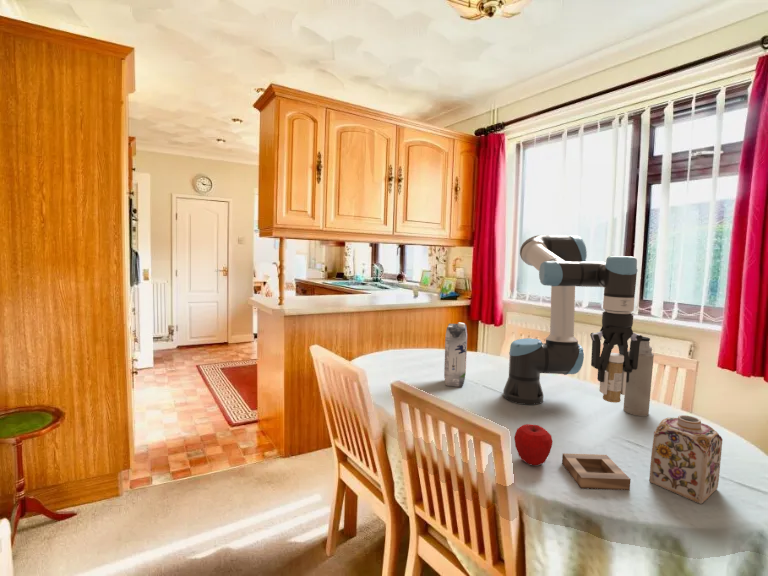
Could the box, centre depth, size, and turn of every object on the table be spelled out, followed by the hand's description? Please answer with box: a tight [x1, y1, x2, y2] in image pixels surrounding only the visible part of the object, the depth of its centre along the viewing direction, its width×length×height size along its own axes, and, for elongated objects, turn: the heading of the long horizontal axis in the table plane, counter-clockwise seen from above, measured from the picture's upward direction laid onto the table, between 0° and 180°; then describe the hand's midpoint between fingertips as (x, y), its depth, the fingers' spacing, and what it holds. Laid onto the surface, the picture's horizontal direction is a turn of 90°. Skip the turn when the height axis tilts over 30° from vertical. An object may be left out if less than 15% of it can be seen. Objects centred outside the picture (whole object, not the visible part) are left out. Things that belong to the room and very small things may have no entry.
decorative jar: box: [648, 415, 723, 505], centre depth 105 cm, size 12×12×18 cm
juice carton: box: [443, 321, 468, 388], centre depth 179 cm, size 9×10×27 cm
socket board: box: [561, 452, 631, 492], centre depth 109 cm, size 12×12×3 cm
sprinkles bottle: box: [602, 352, 624, 404], centre depth 117 cm, size 5×5×13 cm
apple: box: [513, 423, 553, 467], centre depth 115 cm, size 10×10×11 cm
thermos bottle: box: [623, 336, 654, 417], centre depth 151 cm, size 8×8×28 cm
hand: (612, 392), depth 118 cm, fingers closed on sprinkles bottle, 4 cm apart
